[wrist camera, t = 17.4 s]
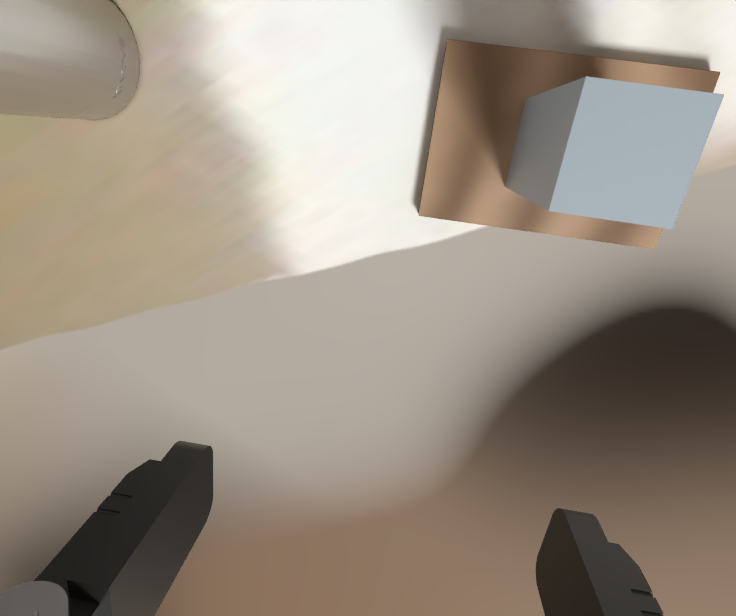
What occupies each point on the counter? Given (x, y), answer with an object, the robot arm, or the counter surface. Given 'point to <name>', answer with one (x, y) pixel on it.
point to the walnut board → (499, 132)
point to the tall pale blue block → (611, 149)
